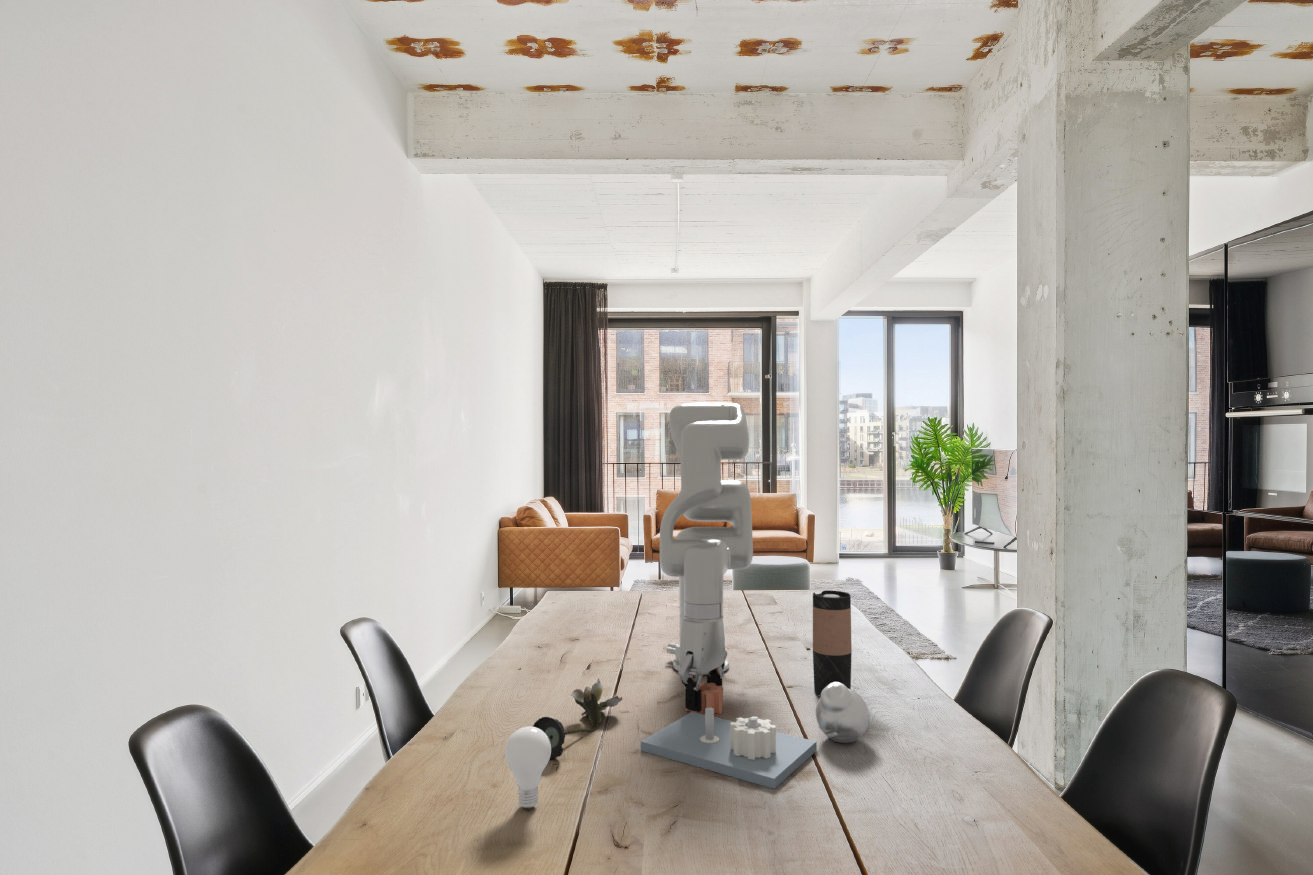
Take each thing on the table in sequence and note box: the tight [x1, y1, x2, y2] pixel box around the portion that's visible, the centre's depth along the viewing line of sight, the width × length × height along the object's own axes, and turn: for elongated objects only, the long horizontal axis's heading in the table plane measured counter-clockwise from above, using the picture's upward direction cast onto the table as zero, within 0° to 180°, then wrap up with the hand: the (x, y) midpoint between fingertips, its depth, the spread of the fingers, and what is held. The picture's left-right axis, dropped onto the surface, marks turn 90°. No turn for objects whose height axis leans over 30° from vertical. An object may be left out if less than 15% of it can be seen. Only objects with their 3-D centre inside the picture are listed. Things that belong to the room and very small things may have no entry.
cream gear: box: [730, 716, 777, 760], centre depth 115 cm, size 7×7×4 cm
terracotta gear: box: [685, 681, 724, 715], centre depth 138 cm, size 7×7×4 cm
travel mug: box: [812, 589, 853, 697], centre depth 147 cm, size 8×8×20 cm
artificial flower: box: [532, 678, 623, 760], centre depth 127 cm, size 9×22×10 cm, turn 152°
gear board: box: [640, 708, 818, 790], centre depth 119 cm, size 24×16×6 cm, turn 55°
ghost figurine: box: [815, 682, 870, 744], centre depth 123 cm, size 9×10×10 cm
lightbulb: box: [504, 725, 551, 810], centre depth 101 cm, size 6×6×11 cm
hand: (704, 703), depth 138 cm, fingers closed on terracotta gear, 7 cm apart
